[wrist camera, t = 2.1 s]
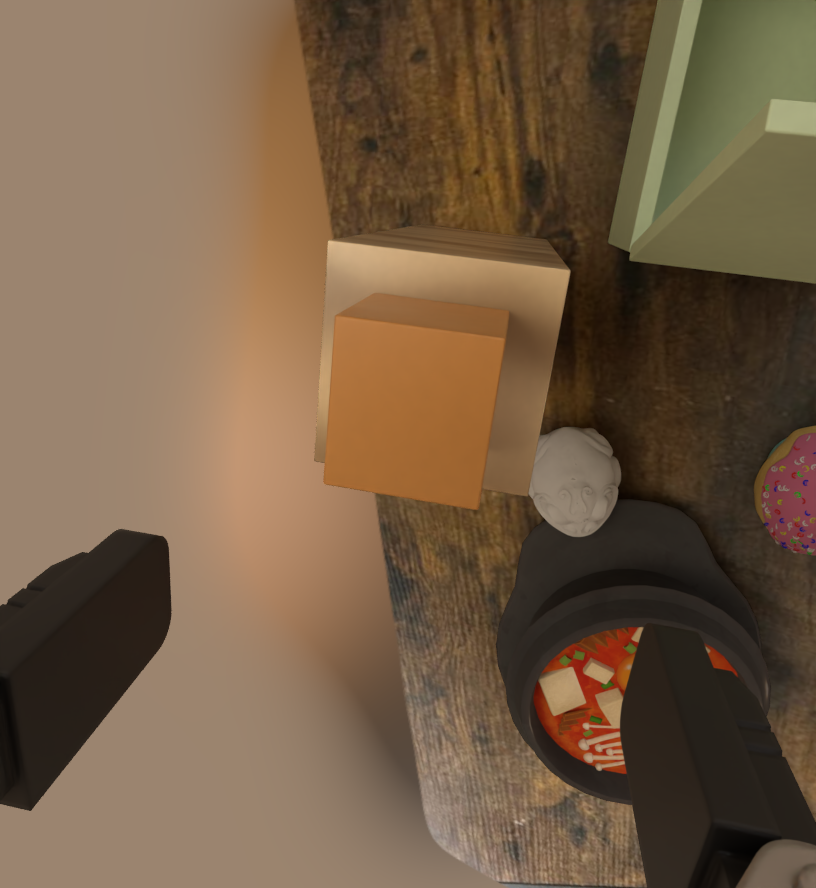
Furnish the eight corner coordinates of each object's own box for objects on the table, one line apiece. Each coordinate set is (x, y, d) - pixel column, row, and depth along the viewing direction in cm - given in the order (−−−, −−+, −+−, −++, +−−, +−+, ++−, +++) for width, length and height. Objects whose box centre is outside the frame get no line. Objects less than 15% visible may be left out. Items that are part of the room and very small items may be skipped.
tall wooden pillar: (421, 224, 42) (327, 239, 22) (547, 239, 41) (570, 270, 21) (408, 346, 45) (314, 461, 25) (525, 363, 44) (528, 497, 24)
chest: (669, -58, 35) (713, -138, 27) (920, -41, 34) (1046, -120, 26) (607, 243, 41) (628, 252, 33) (821, 268, 39) (899, 284, 31)
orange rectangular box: (373, 292, 22) (334, 314, 18) (509, 310, 22) (506, 338, 17) (361, 431, 24) (322, 484, 19) (487, 451, 23) (478, 511, 19)
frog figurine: (532, 506, 48) (533, 553, 41) (516, 414, 45) (515, 449, 39) (619, 494, 46) (635, 541, 40) (606, 400, 44) (621, 433, 38)
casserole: (762, 762, 52) (805, 861, 44) (524, 772, 56) (525, 864, 48) (741, 470, 44) (788, 526, 36) (468, 506, 48) (458, 564, 41)
